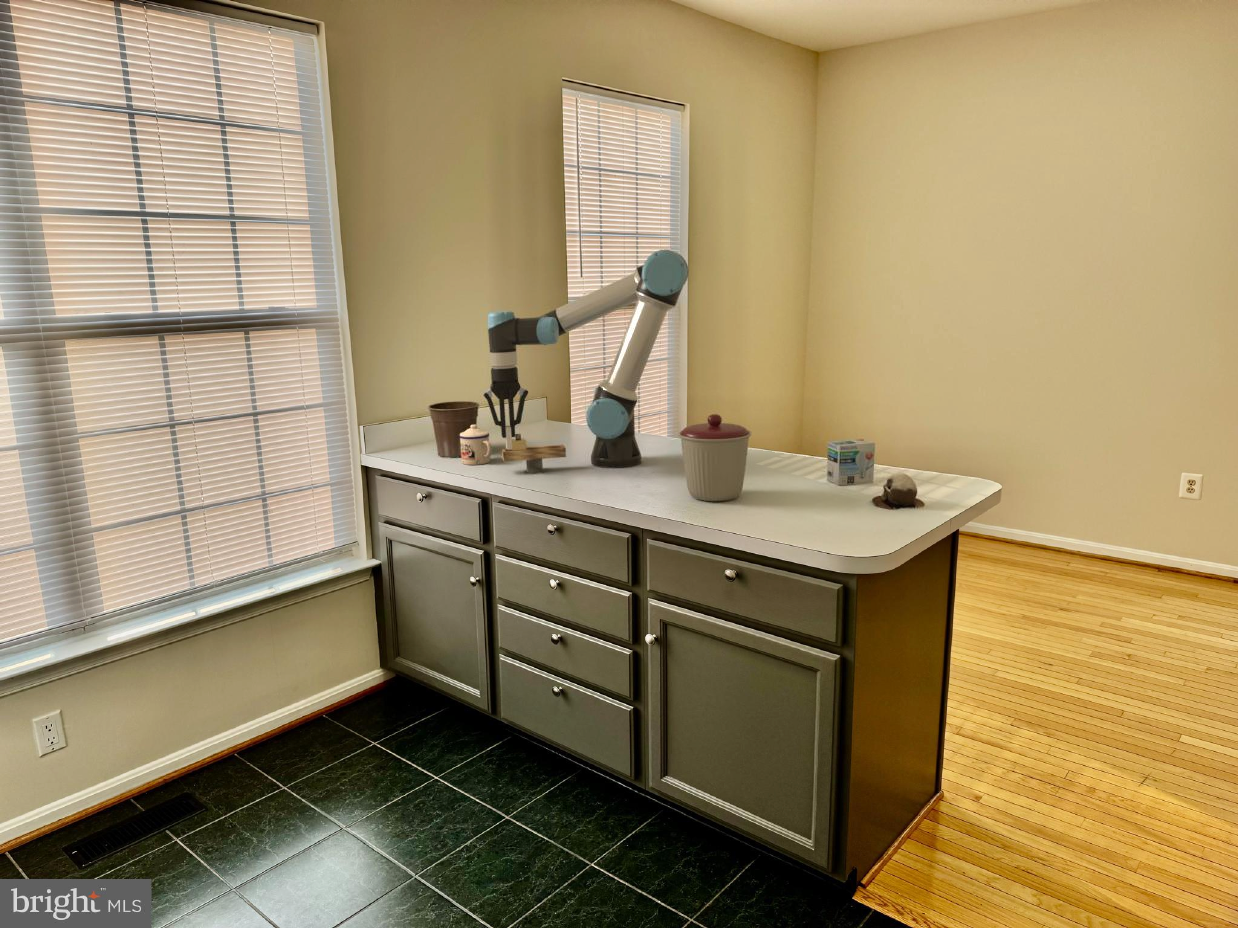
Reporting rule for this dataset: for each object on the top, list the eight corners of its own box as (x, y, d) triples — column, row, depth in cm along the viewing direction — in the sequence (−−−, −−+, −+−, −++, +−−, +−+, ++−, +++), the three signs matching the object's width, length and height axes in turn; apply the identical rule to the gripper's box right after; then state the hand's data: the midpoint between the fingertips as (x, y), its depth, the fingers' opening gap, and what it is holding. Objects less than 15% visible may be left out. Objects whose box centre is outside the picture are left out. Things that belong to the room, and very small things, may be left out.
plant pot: (473, 459, 275) (469, 408, 272) (423, 459, 278) (420, 408, 274) (488, 449, 291) (485, 401, 287) (442, 449, 293) (438, 401, 290)
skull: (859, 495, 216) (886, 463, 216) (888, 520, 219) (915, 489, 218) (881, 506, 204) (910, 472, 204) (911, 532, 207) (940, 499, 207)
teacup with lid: (455, 463, 271) (452, 425, 269) (478, 458, 278) (476, 421, 275) (479, 468, 263) (477, 429, 261) (503, 462, 270) (501, 425, 267)
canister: (694, 509, 212) (693, 422, 207) (669, 492, 228) (667, 411, 224) (763, 501, 216) (764, 417, 212) (733, 485, 233) (733, 406, 229)
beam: (563, 466, 262) (562, 444, 260) (566, 470, 256) (565, 448, 255) (502, 471, 258) (501, 448, 257) (504, 475, 252) (503, 452, 251)
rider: (525, 451, 257) (524, 432, 256) (526, 453, 254) (525, 434, 253) (511, 452, 256) (510, 433, 255) (512, 454, 253) (511, 435, 252)
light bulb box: (838, 486, 230) (839, 445, 227) (825, 480, 236) (826, 441, 234) (874, 482, 233) (876, 442, 230) (861, 477, 239) (862, 438, 237)
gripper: (525, 364, 254) (530, 444, 259) (479, 366, 251) (485, 448, 256) (528, 366, 247) (533, 449, 252) (481, 369, 244) (487, 452, 249)
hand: (509, 448), depth 254 cm, fingers closed
